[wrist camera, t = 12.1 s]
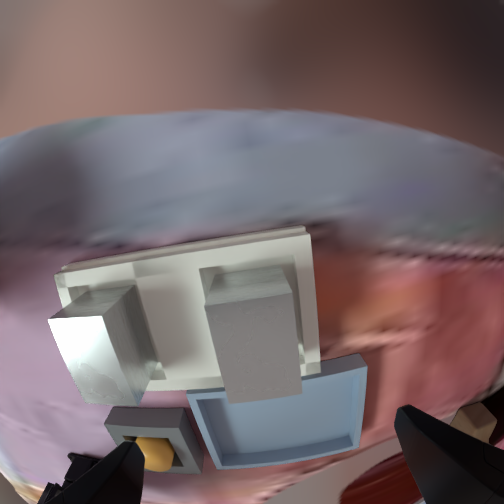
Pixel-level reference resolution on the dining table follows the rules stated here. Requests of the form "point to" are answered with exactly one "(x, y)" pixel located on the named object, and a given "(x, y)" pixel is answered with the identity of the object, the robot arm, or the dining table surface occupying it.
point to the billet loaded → (106, 345)
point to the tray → (286, 419)
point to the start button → (156, 453)
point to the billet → (254, 334)
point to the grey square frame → (159, 433)
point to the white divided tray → (200, 296)
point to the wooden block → (475, 421)
